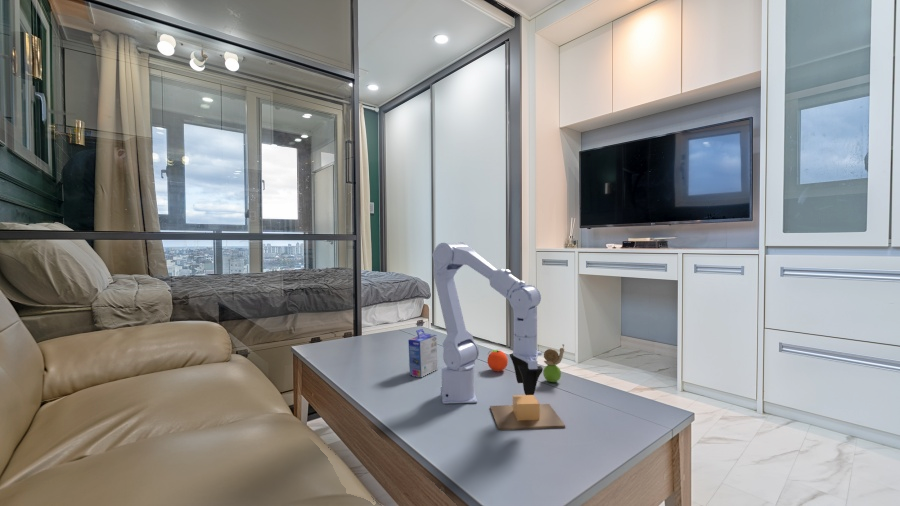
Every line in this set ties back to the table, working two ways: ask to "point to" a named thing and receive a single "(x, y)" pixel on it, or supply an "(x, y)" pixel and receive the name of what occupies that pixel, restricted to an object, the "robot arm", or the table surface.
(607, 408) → the table surface
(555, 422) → the post board
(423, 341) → the ink cartridge box
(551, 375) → the snail figurine
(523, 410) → the cardboard-colored cube
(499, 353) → the clementine
